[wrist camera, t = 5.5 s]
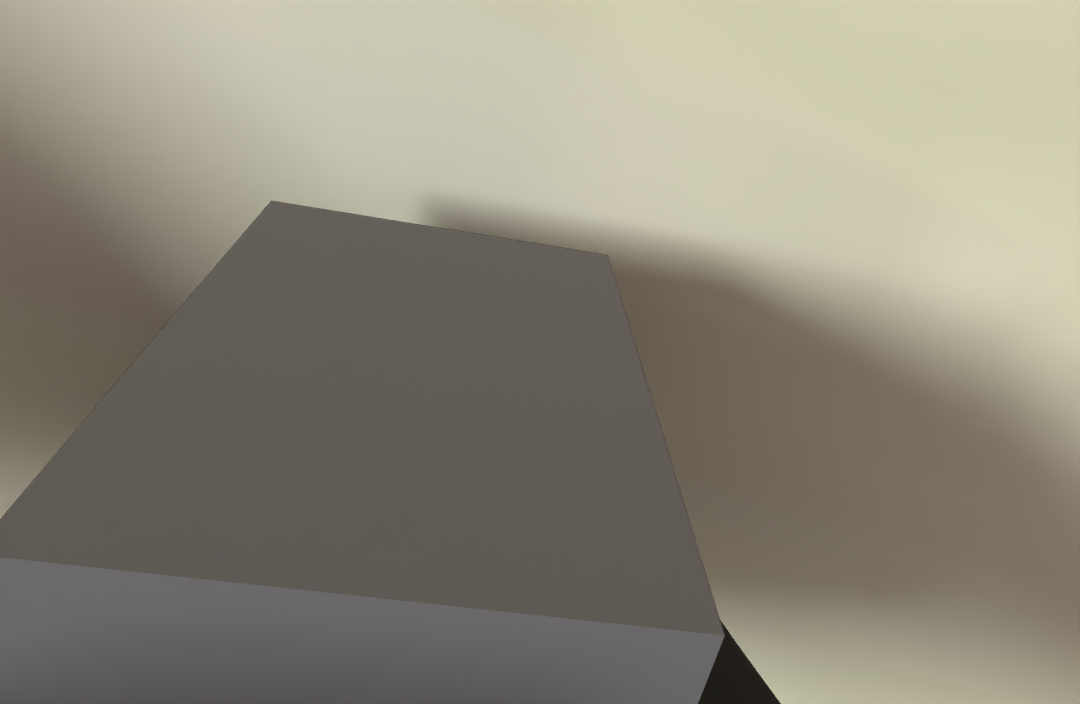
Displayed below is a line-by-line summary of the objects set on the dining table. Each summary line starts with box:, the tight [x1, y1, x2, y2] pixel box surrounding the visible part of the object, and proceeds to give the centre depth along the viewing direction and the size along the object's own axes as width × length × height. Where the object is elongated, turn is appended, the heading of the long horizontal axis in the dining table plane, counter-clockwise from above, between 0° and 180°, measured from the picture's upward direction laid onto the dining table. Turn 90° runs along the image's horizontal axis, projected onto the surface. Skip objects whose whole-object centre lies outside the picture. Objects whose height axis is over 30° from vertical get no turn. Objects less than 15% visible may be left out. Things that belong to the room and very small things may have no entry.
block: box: [0, 201, 725, 704], centre depth 8 cm, size 6×4×6 cm, turn 170°
